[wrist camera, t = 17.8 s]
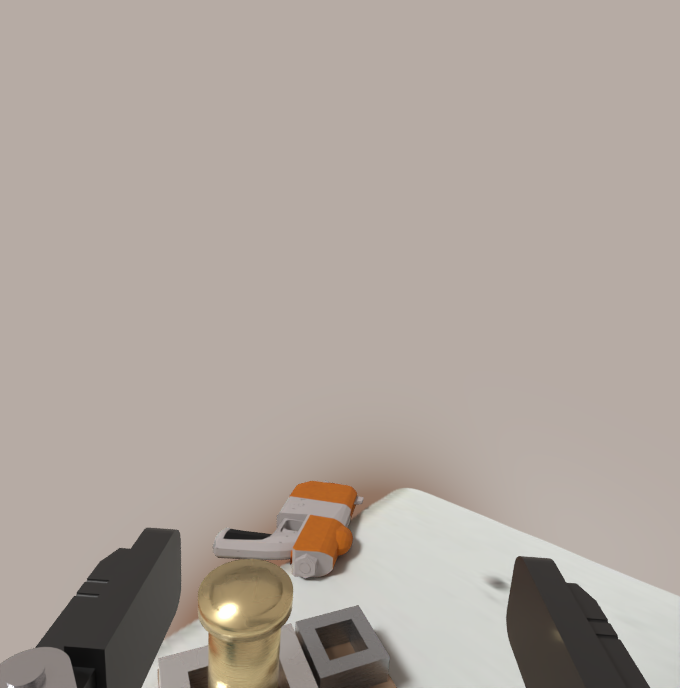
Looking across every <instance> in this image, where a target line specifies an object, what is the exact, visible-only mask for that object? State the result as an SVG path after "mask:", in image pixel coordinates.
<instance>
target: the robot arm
mask: <svg viewBox="0 0 680 688" xmlns="http://www.w3.org/2000/svg"><path fill="white" fill-rule="evenodd" d="M180 593H181V539H180V532H179V530H173V529H160V528H146V529H144V531H143V532H142V533H141V535H140V536H139V538H138V539H137V541H136V542H135V544H134V545H133V546H132V548H131V549H125V548H119V549H118V550H116V551H115V552H113V553H112V554H111V555H109V556H108V557H106V558H105V559H103V560H102V561H100V563H99V564H98V565H97V566H96V568H95V569H94V570H93V572H92V573H91V575H90V576H89V577H88V578H87V582H84V584H83V585H82V586H81V588H80V589H79V590H78V592H77V595H76V596H74V597H73V598H72V600H71V601H70V602H69V604H68V605H67V606H66V608H65V609H64V610H63V611H62V613H61V614H60V616H59V617H58V618H57V619H56V621H55V622H54V623H53V625H52V626H51V627H50V629H49V630H48V631H47V633H46V634H45V636H44V637H43V638H42V639H41V641H40V642H39V644H38V645H37V646H36V648H33V649H29V650H26V651H23V652H21V653H18V654H16V655H14V656H12V657H10V658H8V659H6V660H5V661H3V662H2V663H1V664H0V688H141V687H142V685H143V683H144V681H145V679H146V676H147V674H148V672H149V670H150V668H151V666H152V663H153V661H154V659H155V657H156V655H157V653H158V650H159V648H160V646H161V644H162V642H163V640H164V637H165V635H166V633H167V631H168V629H169V627H170V625H171V622H172V620H173V618H174V616H175V613H176V611H177V607H178V603H179V599H180ZM506 622H507V633H508V638H509V641H510V644H511V647H512V650H513V653H514V656H515V658H516V661H517V664H518V667H519V670H520V672H521V675H522V678H523V681H524V683H525V686H526V688H650V687H649V685H648V683H647V682H646V680H645V679H644V677H643V675H642V674H641V672H640V671H639V669H638V667H637V666H636V664H635V663H634V661H633V659H632V658H631V656H630V655H629V653H628V651H627V650H626V648H625V647H624V645H623V643H622V642H621V640H618V635H617V634H616V632H615V631H614V629H613V627H612V626H611V624H610V623H608V619H607V618H606V616H605V614H604V613H603V611H602V610H601V608H600V606H599V605H598V603H597V602H596V600H595V599H593V598H592V597H591V596H590V595H589V594H588V593H587V592H585V591H584V590H583V589H582V588H581V587H580V586H579V585H578V584H575V583H566V582H565V580H564V578H563V576H562V575H561V573H560V571H559V569H558V568H557V566H556V564H555V563H554V561H553V560H552V559H549V558H535V557H522V556H518V557H517V558H516V561H515V564H514V570H513V576H512V582H511V588H510V595H509V601H508V607H507V615H506Z"/></svg>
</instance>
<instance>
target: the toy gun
mask: <svg viewBox="0 0 680 688" xmlns="http://www.w3.org/2000/svg"><path fill="white" fill-rule="evenodd" d="M362 502H363V497H357V492H356V491H355V490H354V489H353V488H352V487H350V486H347V485H340V484H335V483H329V482H328V481H323V482H316V481H309V482H305V483H301V484H298V485H297V486H296V487H295V489H294V490H293V492H292V493H291V495H290V496H289V498H288V499H287V501H286V503H285V504H284V506H283V508H282V509H281V511H280V512H279V514H278V515H277V529H276V531H275V532H274V533H273V534H265V533H257V532H249V531H241V530H234V529H230V528H225V529H223V530H222V531H220V532H219V533H218V535H217V536H216V538H215V541H214V544H213V553H214V554H215V556H217V557H218V558H233V559H234V558H235V559H259V560H284V559H290V565H291V563H292V574H293V575H294V576H296V577H303V578H308V577H321V576H324V575H326V574H328V573H329V572H331V571H332V570H333V568H334V565H335V562H336V559H337V556H339V555H343V554H345V553H346V552H347V551H348V550H349V549H350V547H351V545H352V541H353V536H352V533H351V531H350V530H349V529H348V525H349V523H350V520H351V517H352V514H353V511H354V508H355V506H356V504H362Z"/></svg>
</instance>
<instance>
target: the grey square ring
mask: <svg viewBox="0 0 680 688" xmlns="http://www.w3.org/2000/svg"><path fill="white" fill-rule="evenodd" d="M295 634H296V636H297V639H298V641H299V643H300V646H301V648H302V650H303V653H304V655H305V657H306V660H307V662H308V665H309V667H310V669H311V672H312V674H313V676H314V679H315V681H316V683H317V686H318V688H369V687H372V686H375V685H378V684H381V683H384V682H387V679H388V669H389V659H390V656H389V655H388V653H387V651H386V650H385V648H384V646H383V645H382V643H381V641H380V640H379V638H378V637H377V635H376V633H375V632H374V630H373V628H372V627H371V625H370V623H369V622H368V620H367V618H366V617H365V615H364V614H363V612H362V610H361V609H360V607H359V605H357V606H354V607H350V608H346V609H342V610H338V611H335V612H331V613H327V614H323V615H319V616H316V617H312V618H308V619H304V620H301V621H297V622H296V628H295ZM348 642H350V644H351V646H352V647H353V649H354V651H355V653H353V654H350V655H347V656H343V657H340V658H337V659H333V660H329V658H328V656H327V654H326V651H325V649H327V648H331V647H334V646H338V645H341V644H344V643H348Z"/></svg>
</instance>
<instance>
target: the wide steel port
mask: <svg viewBox="0 0 680 688" xmlns="http://www.w3.org/2000/svg"><path fill="white" fill-rule="evenodd" d="M158 662H159V688H208V646H204V647H200V648H196V649H193V650H189V651H185V652H181V653H177V654H174V655H170V656H166V657H162V658H158ZM278 684H279V687H280V688H318V686H317V683H316V681H315V679H314V676H313V674H312V672H311V669H310V667H309V665H308V662H307V660H306V657H305V655H304V653H303V650H302V648H301V646H300V643H299V641H298V639H297V636H296V634H295V631H294V629H293V627H292V624H287V625H283V626H282V627H281V637H280V656H279V675H278Z"/></svg>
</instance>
